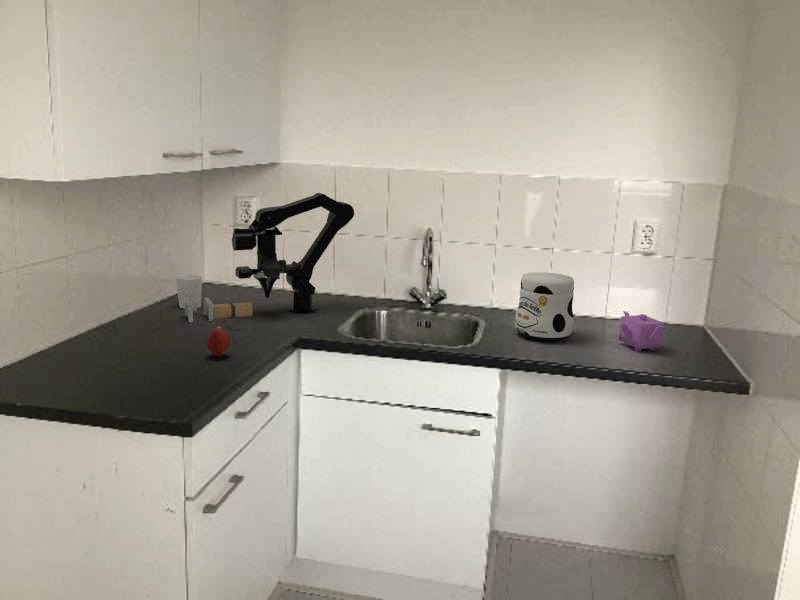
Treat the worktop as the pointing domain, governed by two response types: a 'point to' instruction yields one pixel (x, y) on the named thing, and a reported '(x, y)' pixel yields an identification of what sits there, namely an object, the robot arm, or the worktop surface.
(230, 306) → the taped cardboard box
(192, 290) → the white cup
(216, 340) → the onion
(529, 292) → the milk container
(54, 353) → the worktop surface
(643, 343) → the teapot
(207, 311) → the gray bracket rail
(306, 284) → the robot arm
